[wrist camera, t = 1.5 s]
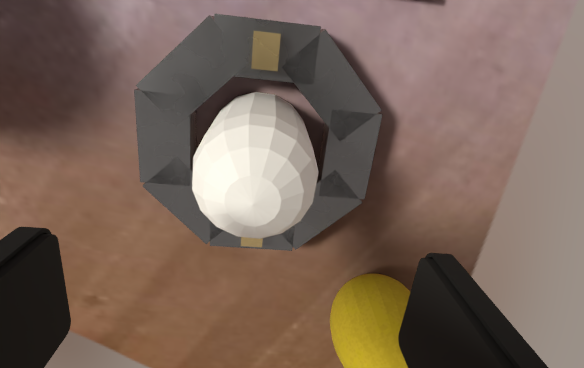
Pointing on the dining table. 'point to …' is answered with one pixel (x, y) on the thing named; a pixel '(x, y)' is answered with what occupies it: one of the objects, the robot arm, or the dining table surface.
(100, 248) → the dining table surface
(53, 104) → the dining table surface
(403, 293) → the lemon
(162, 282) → the dining table surface
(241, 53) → the socket ring
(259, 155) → the capsule
